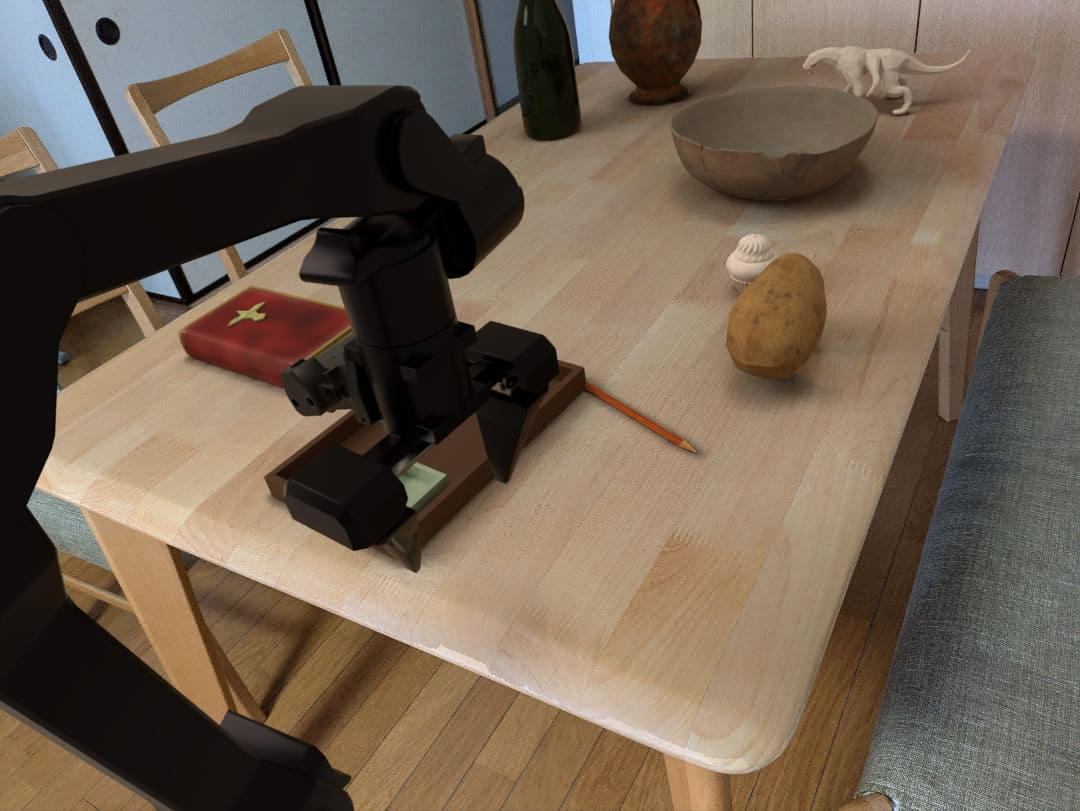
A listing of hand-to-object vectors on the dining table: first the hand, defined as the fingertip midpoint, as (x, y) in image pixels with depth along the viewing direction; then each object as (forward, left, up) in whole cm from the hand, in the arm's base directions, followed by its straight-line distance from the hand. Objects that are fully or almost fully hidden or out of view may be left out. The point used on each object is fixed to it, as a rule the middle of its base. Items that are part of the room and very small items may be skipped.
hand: (459, 522), depth 55 cm
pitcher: (+115, +49, -12) cm, 125 cm away
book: (+20, +49, -12) cm, 55 cm away
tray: (+16, +20, -12) cm, 28 cm away
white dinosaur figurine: (+117, +11, -12) cm, 118 cm away
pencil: (+28, +5, -12) cm, 31 cm away
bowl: (+84, +15, -12) cm, 86 cm away
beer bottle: (+93, +61, -12) cm, 112 cm away
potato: (+42, -4, -12) cm, 44 cm away
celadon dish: (+7, +16, -12) cm, 21 cm away
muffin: (+54, +4, -12) cm, 56 cm away
